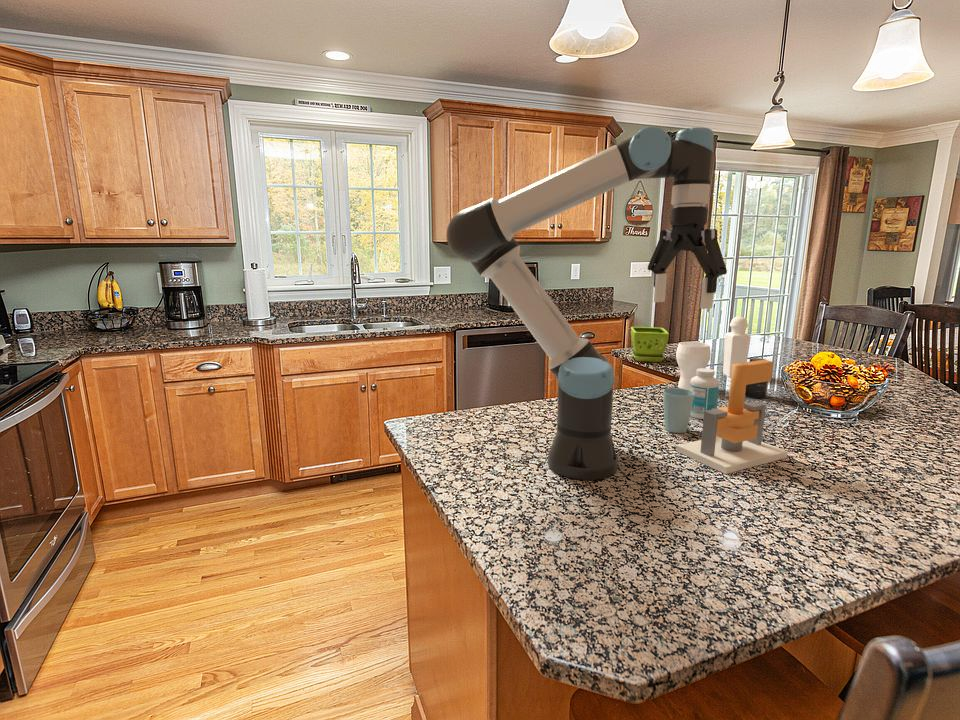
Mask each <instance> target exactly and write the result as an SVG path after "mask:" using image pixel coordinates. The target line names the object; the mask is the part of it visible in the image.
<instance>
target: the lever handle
mask: <svg viewBox="0 0 960 720" xmlns="http://www.w3.org/2000/svg"><path fill="white" fill-rule="evenodd" d="M773 368H774V361H772V360H767V359H766V360H758V361H751V362H750V361H747V362H745V363H734V364H732V374H731V377H730V385H729V397H728V403H727V404H728V405H727V406H721V407H717V409H720V410H723V411H726V412H728V414H727V417H722V418H718V423H717V433H716V436H718V437H720V438H723V439H725V440H728V441H730V442H733V443H739V442H743V441H747V440H751V439H756V438H757V429H758V425H756V424H754V420H755V419H759V410H756V411H752V410H749V409H745V408H744V403H745V398H746V396H745V391H746V385H748V384H754V383H760V382H766V381H768V382H770V381H772V375H773Z"/></svg>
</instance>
